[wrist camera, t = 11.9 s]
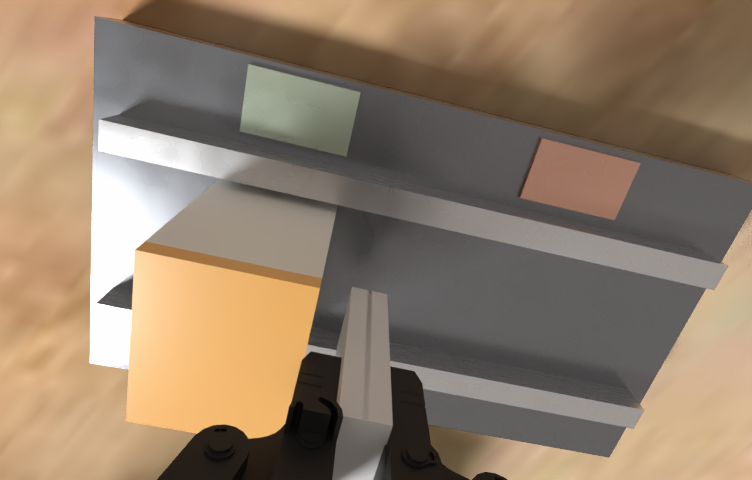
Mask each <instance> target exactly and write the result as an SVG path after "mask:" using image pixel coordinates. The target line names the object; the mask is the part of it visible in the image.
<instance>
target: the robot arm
mask: <svg viewBox="0 0 752 480" xmlns="http://www.w3.org/2000/svg"><path fill="white" fill-rule="evenodd" d="M157 480H469V479H467V478H465V477H463V476H461V475H459V474H457V473H455V472H453V471H451V470H450V469H448V468H447V467H446V466H444V465H443V464H442V463H441V460H440V457H439V455H438V453H437V452H436V450H435V449H434V448H433V447H432V446H431V443H430V436H429V428H428V421H427V414H426V408H425V399H424V392H423V385H422V382H421V380H420V379H419V377H418V376H417V374H416V373H415V371H411V370H406V369H401V368H396V367H392V366H390V347H389V323H388V300H387V294H384V293H379V292H374V291H370V290H365V289H360V288H356V287H352V289H351V293H350V297H349V301H348V305H347V309H346V313H345V317H344V321H343V325H342V329H341V333H340V337H339V341H338V345H337V350H336V356H332V355H327V354H322V353H317V352H312V351H311V352H309V353H308V354H307V355H306V356H305V358H303V359H302V361H301V365H300V369H299V374H298V377H297V382H296V386H295V390H294V394H293V398H292V402H291V404H290V406H289V409H288V414H287V418H286V423H285V424H284V426H283V427H282V428H281V429H280V430H278V431H277V432H276V433H274V434H271V435H269V436H265V437H260V438H250V439H248V437H247V436H246V434H245V433H244V432H243V431H241V430H240V429H238V428H237V427H234V426H230V425H225V424H224V425H213V426H210V427H208V428H205V429H203V430H201V431H200V432H199V433H198V434H196V435H195V436H194V437H193V438H192V440H191V441H190V442H189V443H188V444H187V445H186V447H185V448H184V449H183V450H182V451H181V452H180V454H179V455H178V456H177V457H176V458H175V459H174V461H173V462H172V463H171V464H170V465H169V466H168V468H167V469H166V470H165V471H164V472H163V473H162V475H161V476H160V477H159V478H158V479H157ZM472 480H507V479H506V478H504V477H502V476H500V475H497V474H495V473H489V472H484V473H480V474H477V475H476V476H475V477H474V478H473V479H472Z"/></svg>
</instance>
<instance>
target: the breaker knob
mask: <svg viewBox="0 0 752 480" xmlns="http://www.w3.org/2000/svg"><path fill="white" fill-rule="evenodd" d="M337 206H338V205H335V204H331V203H327V202H322V201H318V200H313V199H309V198H304V197H300V196H296V195H291V194H287V193H282V192H278V191H274V190H269V189H265V188H260V187H256V186H251V185H247V184H243V183H238V182H234V181H229V180H225V179H219V180H218V181H216V182H215V183H214V184H213V185H212V186H210V187H209V188H208V189H207V190H206V191H204V192H203V193H202V194H201V195H200V196H198V197H197V198H196V199H195V200H194V201H193V202H191V203H190V204H189V205H188V206H187V207H185V208H184V209H183V210H182V211H181V212H179V213H178V214H177V215H176V216H175V217H173V218H172V219H171V220H170V221H169V222H167V223H166V224H165V225H164V226H163V227H161V228H160V229H159V230H158V231H157V232H156V233H154V234H153V235H152V236H151V237H150V238H148V239H147V240H146V241H145V242H144V243H142V244H141V245H140V246H139V247H138V248H136V249H135V255H134V275H133V294H132V313H131V332H130V352H129V371H128V390H127V409H126V422H132V423H138V424H144V425H150V426H156V427H162V428H167V429H173V430H179V431H185V432H191V433H197V434H198V433H199V432H200V431H201V430H203V429H205V428H208V427H210V426H213V425H224V424H225V425H230V426H234V427H237V428H238V429H240V430H241V431H243V432H244V433H245V434H246V436H247V437H248V439H250V438H260V437H265V436H269V435H271V434H274V433H276V432H277V431H278V430H280V429H281V428H282V427H283V426H284V424H285V423H286V418H287V414H288V409H289V406H290V404H291V402H292V398H293V394H294V390H295V386H296V382H297V377H298V374H299V369H300V365H301V361H302V359H303V358H305V354H306V349H307V345H308V340H309V336H310V331H311V327H312V322H313V318H314V313H315V309H316V304H317V300H318V295H319V291H320V286H321V281H322V277H323V272H324V267H325V263H326V258H327V253H328V249H329V244H330V239H331V234H332V230H333V225H334V220H335V216H336V211H337Z"/></svg>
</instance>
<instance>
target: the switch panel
mask: <svg viewBox="0 0 752 480" xmlns="http://www.w3.org/2000/svg"><path fill="white" fill-rule="evenodd" d="M219 179H225V180H229V181H234V182H238V183H243V184H247V185H251V186H256V187H260V188H265V189H269V190H274V191H278V192H282V193H287V194H291V195H296V196H300V197H304V198H309V199H313V200H318V201H322V202H327V203H331V204H335V205H338V206H337V211H336V216H335V220H334V225H333V230H332V234H331V239H330V244H329V249H328V253H327V258H326V263H325V267H324V272H323V277H322V281H321V286H320V291H319V295H318V300H317V304H316V309H315V313H314V318H313V322H312V327H311V331H310V336H309V340H308V345H307V349H306V354H305V356H306V355H307V354H308V353H309V352H311V351H312V352H317V353H322V354H327V355H332V356H336V350H337V345H338V341H339V337H340V333H341V329H342V325H343V321H344V317H345V313H346V309H347V305H348V301H349V297H350V293H351V289H352V287H356V288H360V289H365V290H370V291H374V292H379V293H384V294H387V300H388V323H389V347H390V366H392V367H396V368H401V369H406V370H411V371H415V373H416V374H417V376H418V377H419V379H420V380H421V382H422V385H423V392H424V399H425V408H426V414H427V421H428V425H433V426H439V427H444V428H450V429H455V430H461V431H466V432H472V433H477V434H483V435H488V436H494V437H499V438H505V439H510V440H516V441H521V442H527V443H532V444H538V445H543V446H549V447H554V448H560V449H565V450H571V451H576V452H582V453H587V454H593V455H598V456H604V457H610V455H611V453H612V452H613V450H614V448H615V446H616V445H617V443H618V441H619V439H620V438H621V436H622V434H623V432H624V431H625V429H626V427H627V428H633V429H634V427H635V425H636V424H637V422H638V420H639V419H640V417H641V415H642V413H643V412H644V409H643V408H642V406H641V405H640V403H641V401H642V399H643V398H644V396H645V394H646V392H647V391H648V389H649V387H650V385H651V384H652V382H653V380H654V378H655V377H656V375H657V373H658V371H659V370H660V368H661V366H662V364H663V363H664V361H665V359H666V357H667V356H668V354H669V352H670V350H671V349H672V347H673V345H674V343H675V342H676V340H677V338H678V336H679V335H680V333H681V331H682V329H683V328H684V326H685V324H686V323H687V321H688V319H689V317H690V316H691V314H692V312H693V310H694V309H695V307H696V305H697V303H698V302H699V300H700V298H701V296H702V295H703V293H704V291H705V289H711V290H715V288H716V286H717V285H718V283H719V281H720V279H721V278H722V276H723V274H724V273H725V271H726V269H727V267H728V265H726V264H724V263H722V262H721V261H722V260H723V258H724V256H725V255H726V253H727V251H728V249H729V248H730V246H731V244H732V242H733V241H734V239H735V237H736V235H737V234H738V232H739V230H740V228H741V227H742V225H743V223H744V221H745V220H746V218H747V216H748V214H749V213H750V211H751V209H752V182H750V181H747V180H744V179H741V178H738V177H735V176H732V175H729V174H725V173H721V172H717V171H713V170H709V169H705V168H701V167H697V166H693V165H689V164H685V163H681V162H678V161H674V160H670V159H666V158H662V157H658V156H654V155H650V154H646V153H642V152H638V151H634V150H630V149H627V148H623V147H619V146H615V145H611V144H607V143H603V142H599V141H595V140H591V139H587V138H583V137H579V136H576V135H572V134H568V133H564V132H560V131H556V130H552V129H548V128H544V127H540V126H536V125H532V124H528V123H525V122H521V121H517V120H513V119H509V118H505V117H501V116H497V115H493V114H489V113H485V112H481V111H477V110H474V109H470V108H466V107H462V106H458V105H454V104H450V103H446V102H442V101H438V100H434V99H430V98H426V97H423V96H419V95H415V94H411V93H407V92H403V91H399V90H395V89H391V88H387V87H383V86H379V85H375V84H372V83H368V82H364V81H360V80H356V79H352V78H348V77H344V76H340V75H336V74H332V73H328V72H324V71H321V70H317V69H313V68H309V67H305V66H301V65H297V64H293V63H289V62H285V61H281V60H277V59H273V58H270V57H266V56H262V55H258V54H254V53H250V52H246V51H242V50H238V49H234V48H230V47H226V46H222V45H219V44H215V43H211V42H207V41H203V40H199V39H195V38H191V37H187V36H183V35H179V34H175V33H171V32H168V31H164V30H160V29H156V28H152V27H148V26H144V25H140V24H136V23H132V22H128V21H124V20H119V19H112V18H104V17H97V16H95V31H94V103H93V176H92V248H91V321H90V363H93V364H98V365H104V366H109V367H115V368H120V369H126V370H129V352H130V332H131V313H132V294H133V275H134V255H135V249H136V248H138V247H139V246H140V245H141V244H142V243H144V242H145V241H146V240H147V239H148V238H150V237H151V236H152V235H153V234H154V233H156V232H157V231H158V230H159V229H160V228H161V227H163V226H164V225H165V224H166V223H167V222H169V221H170V220H171V219H172V218H173V217H175V216H176V215H177V214H178V213H179V212H181V211H182V210H183V209H184V208H185V207H187V206H188V205H189V204H190V203H191V202H193V201H194V200H195V199H196V198H197V197H198V196H200V195H201V194H202V193H203V192H204V191H206V190H207V189H208V188H209V187H210V186H212V185H213V184H214V183H215V182H216V181H218V180H219Z"/></svg>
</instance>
